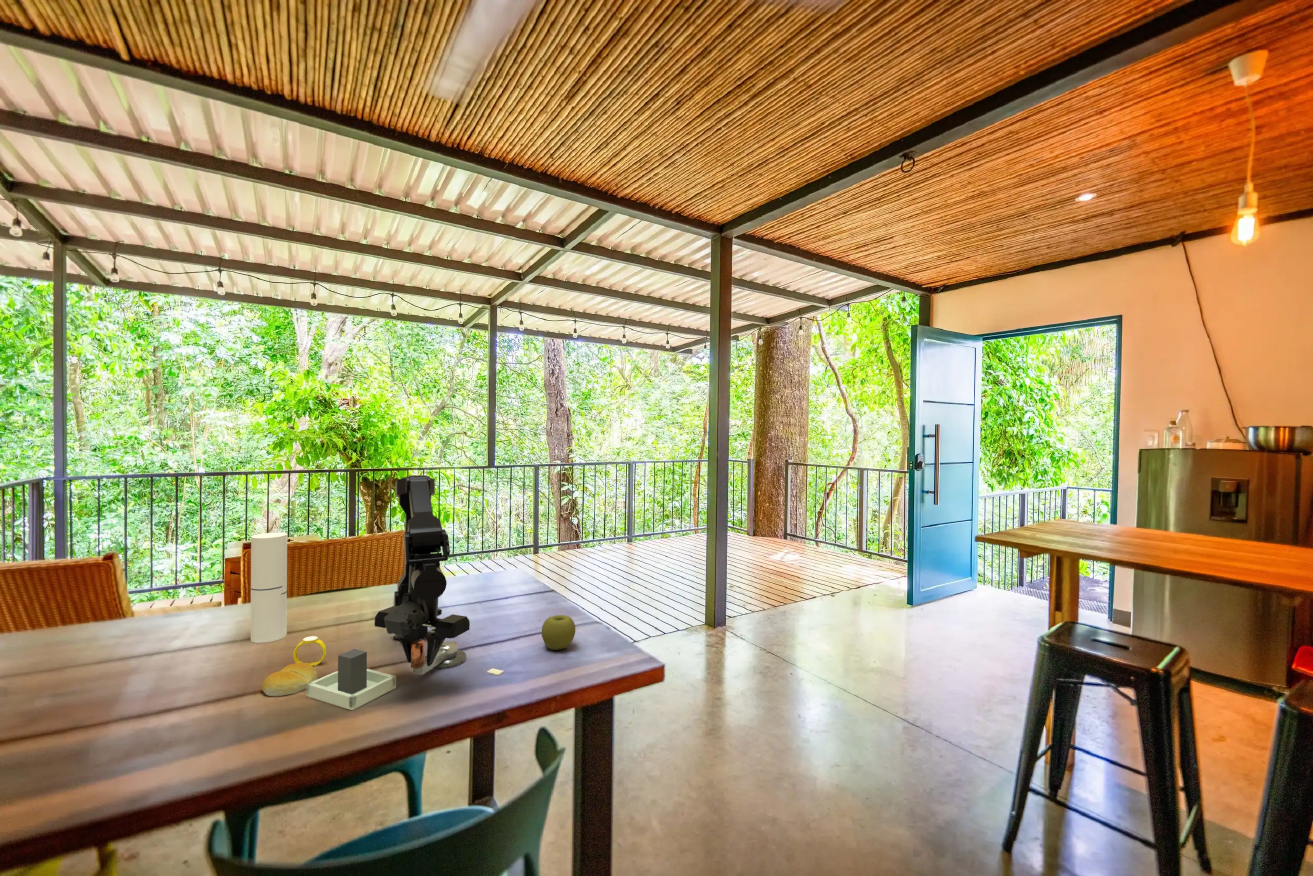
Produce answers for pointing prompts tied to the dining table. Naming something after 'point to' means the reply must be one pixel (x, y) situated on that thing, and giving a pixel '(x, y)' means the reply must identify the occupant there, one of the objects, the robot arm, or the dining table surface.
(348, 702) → the tray
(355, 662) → the dark gray rectangular block
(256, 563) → the cylindrical container
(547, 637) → the apple
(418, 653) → the crank
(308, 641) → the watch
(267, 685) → the bread roll
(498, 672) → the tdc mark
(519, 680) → the dining table surface
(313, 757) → the dining table surface
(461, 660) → the hub plate
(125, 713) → the dining table surface
